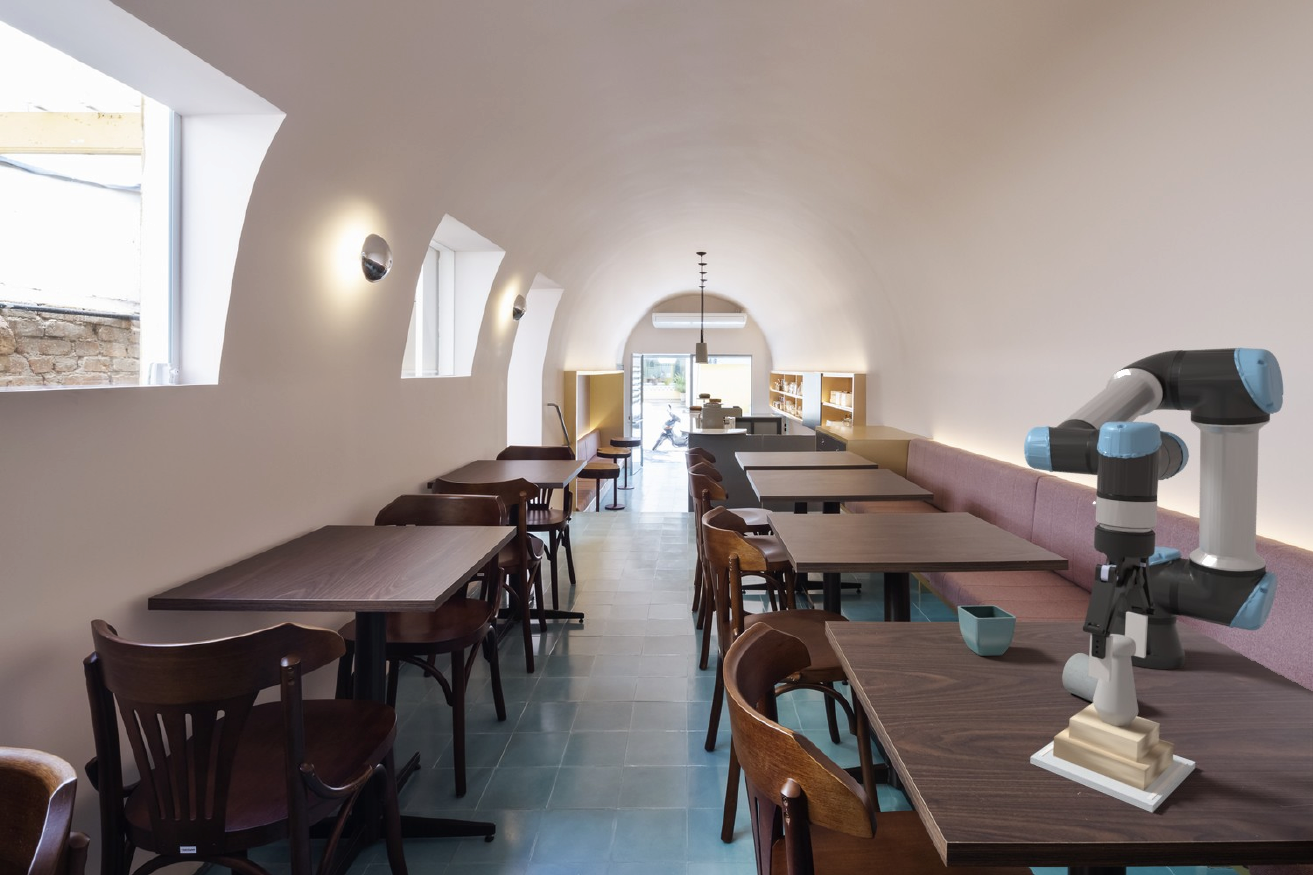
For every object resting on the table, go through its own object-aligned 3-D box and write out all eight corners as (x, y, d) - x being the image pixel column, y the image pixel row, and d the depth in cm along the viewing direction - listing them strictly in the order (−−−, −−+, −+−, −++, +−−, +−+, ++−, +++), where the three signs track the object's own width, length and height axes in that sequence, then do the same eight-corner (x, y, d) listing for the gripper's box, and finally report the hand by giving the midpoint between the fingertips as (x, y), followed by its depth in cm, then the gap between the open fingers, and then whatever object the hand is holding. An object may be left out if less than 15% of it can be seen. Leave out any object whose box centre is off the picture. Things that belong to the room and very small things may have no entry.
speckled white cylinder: (1103, 713, 125) (1106, 671, 124) (1060, 695, 132) (1062, 654, 132) (1141, 703, 129) (1144, 662, 129) (1097, 686, 137) (1099, 647, 136)
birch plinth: (1085, 732, 116) (1087, 696, 116) (1172, 762, 107) (1175, 724, 106) (1053, 755, 109) (1054, 717, 108) (1143, 791, 100) (1146, 749, 99)
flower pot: (955, 644, 158) (956, 605, 157) (993, 644, 158) (995, 604, 158) (975, 660, 149) (976, 618, 148) (1015, 659, 150) (1017, 617, 149)
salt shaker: (1098, 726, 106) (1102, 641, 105) (1087, 709, 111) (1091, 628, 110) (1143, 732, 104) (1148, 645, 103) (1130, 714, 109) (1134, 632, 108)
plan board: (1079, 727, 120) (1079, 721, 120) (1194, 768, 107) (1195, 761, 107) (1030, 762, 109) (1030, 756, 109) (1152, 812, 96) (1152, 804, 96)
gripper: (1127, 512, 116) (1121, 639, 118) (1060, 534, 100) (1054, 679, 102) (1183, 519, 110) (1175, 653, 112) (1121, 543, 95) (1113, 698, 96)
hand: (1117, 666), depth 107 cm, fingers open, 13 cm apart
